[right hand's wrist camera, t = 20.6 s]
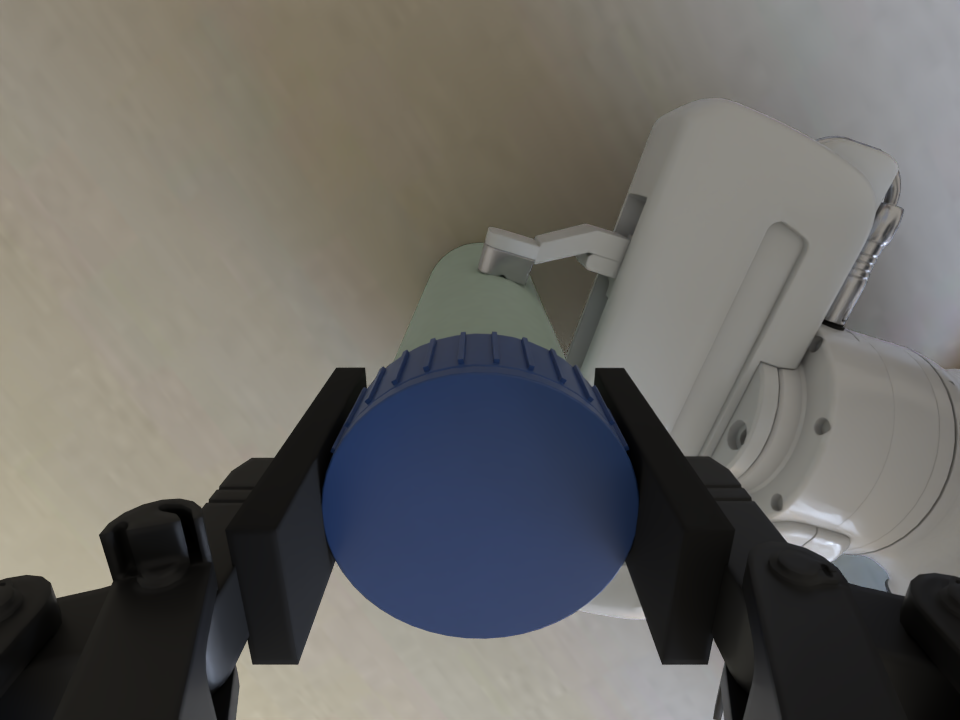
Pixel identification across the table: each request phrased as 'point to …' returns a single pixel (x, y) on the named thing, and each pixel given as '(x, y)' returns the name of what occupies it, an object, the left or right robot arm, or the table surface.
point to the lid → (480, 489)
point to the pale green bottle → (477, 305)
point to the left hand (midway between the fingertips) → (457, 334)
